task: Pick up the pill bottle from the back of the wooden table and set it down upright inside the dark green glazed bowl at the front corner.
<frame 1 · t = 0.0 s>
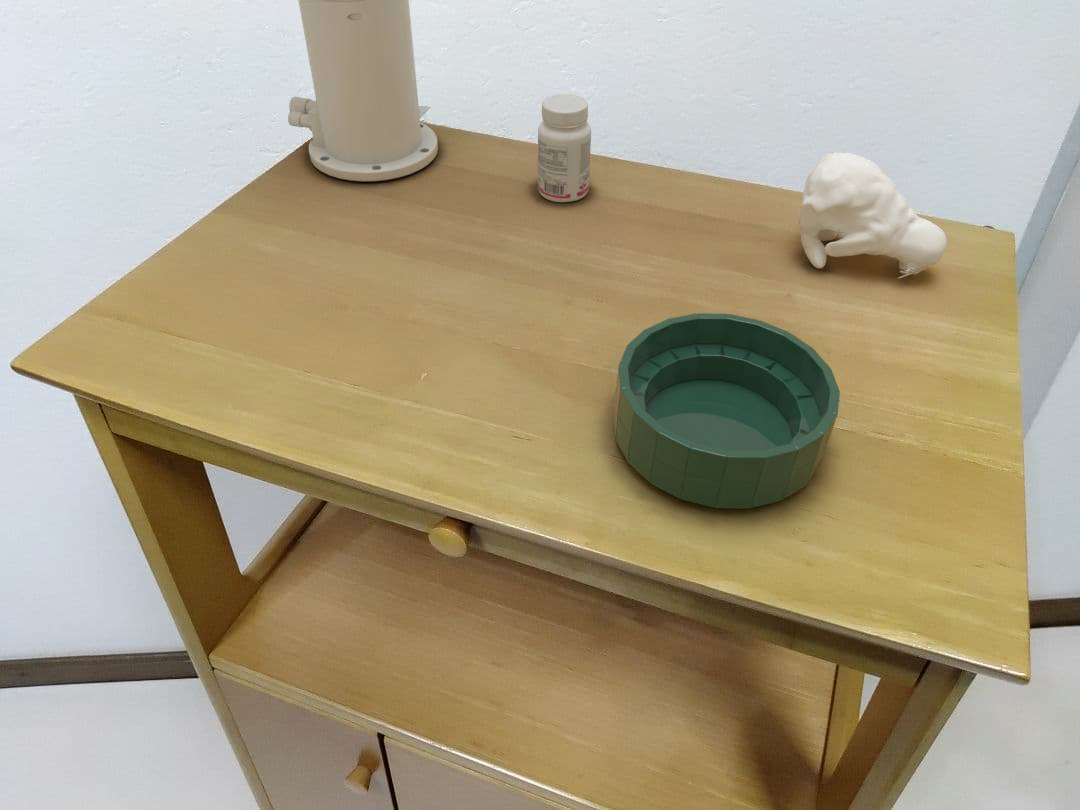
pill bottle: (562, 192, 77), on the cabinet
white irregular piece: (859, 263, 69), on the cabinet
bowl: (714, 435, 53), on the cabinet
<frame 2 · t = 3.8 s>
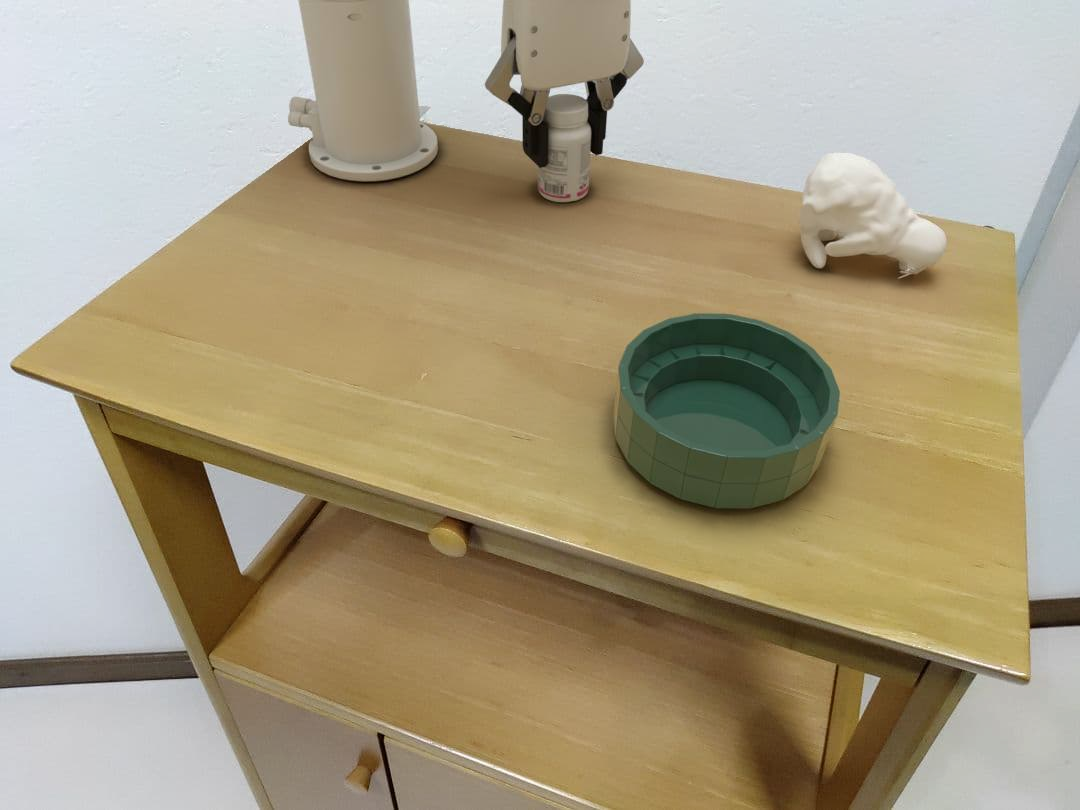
hand: (564, 152, 74), 4 cm above the cabinet, tool pointing down, fingers closed on pill bottle, 4 cm apart
pill bottle: (562, 192, 77), on the cabinet, touching gripper
everything else where it was.
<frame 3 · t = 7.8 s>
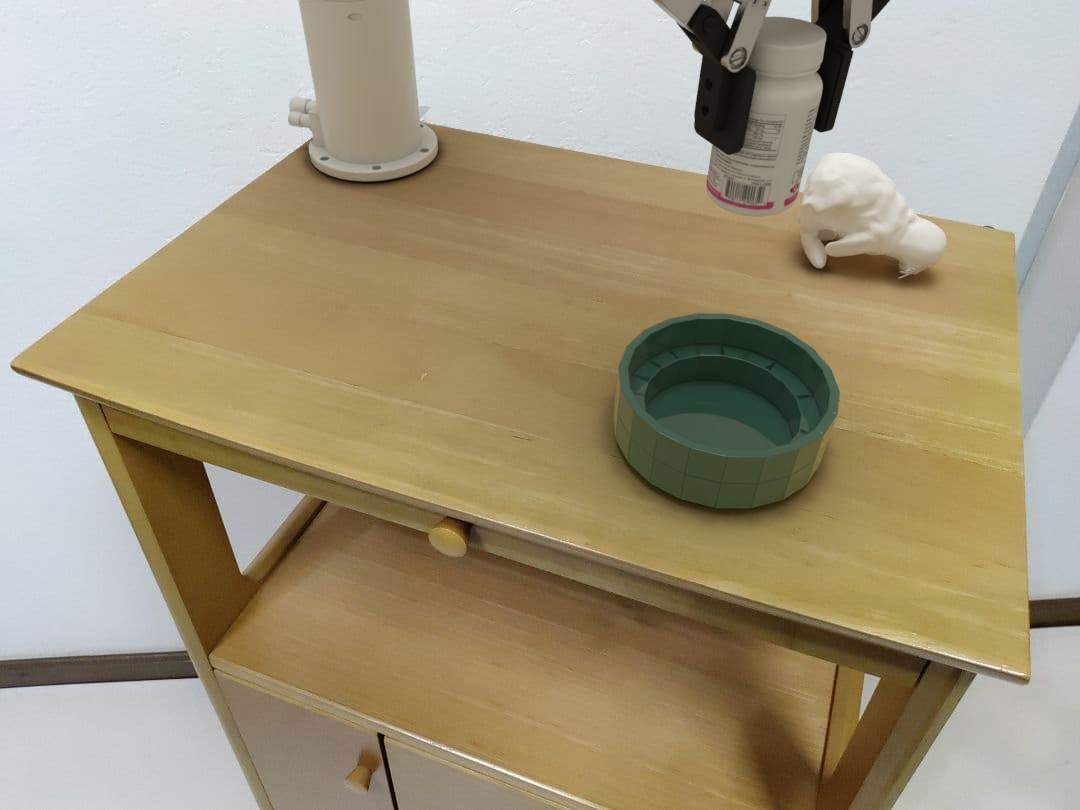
hand: (763, 128, 41), 20 cm above the cabinet, tool pointing down, fingers closed on pill bottle, 4 cm apart
pill bottle: (748, 199, 44), point 16 cm above the cabinet, touching gripper
everything else where it was.
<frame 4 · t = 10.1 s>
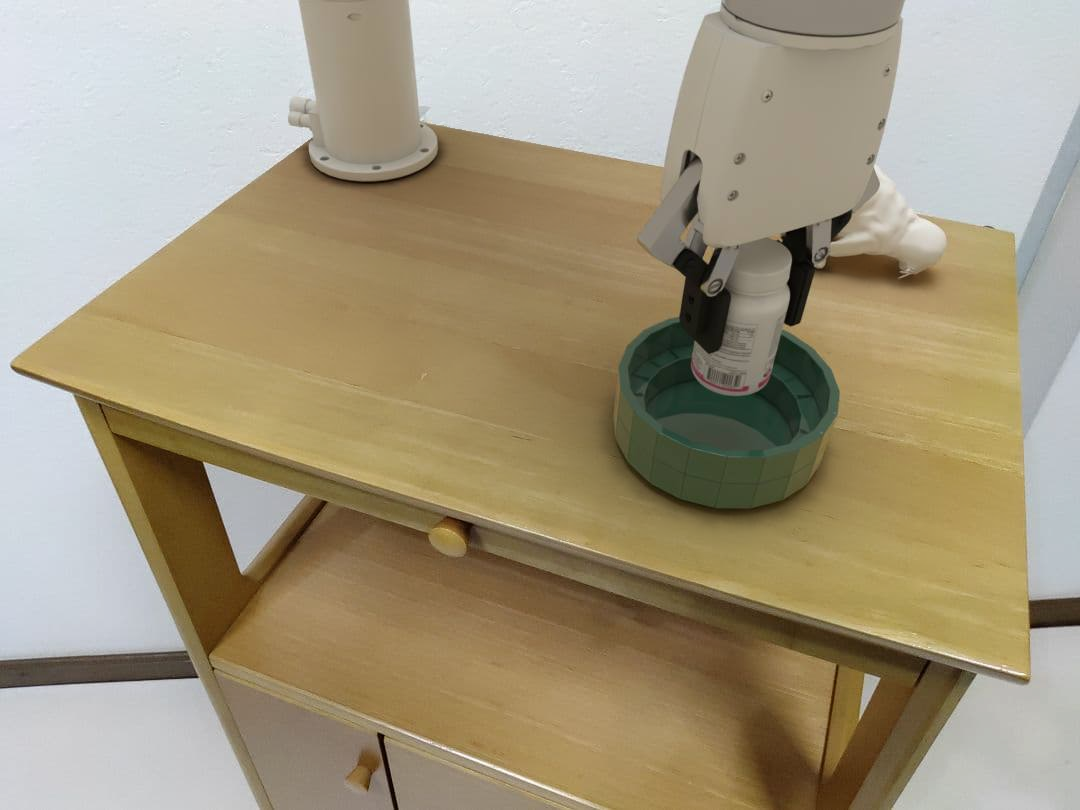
hand: (739, 322, 47), 9 cm above the cabinet, tool pointing down, fingers closed on pill bottle, 4 cm apart
pill bottle: (728, 374, 50), point 5 cm above the cabinet, touching gripper
everything else where it was.
when the fingers open (4 cm above the cabinet, at t = 11.8 s): pill bottle stays where it is, resting on bowl.
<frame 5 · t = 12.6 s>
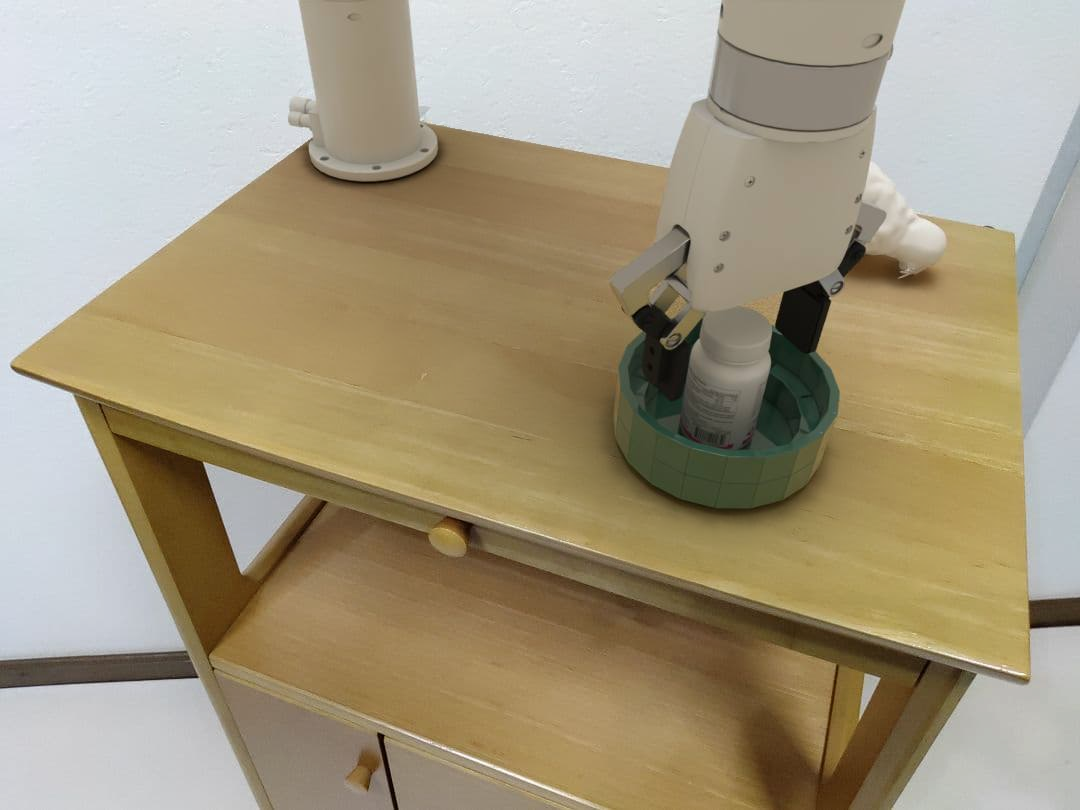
hand: (729, 362, 49), 6 cm above the cabinet, tool pointing down, fingers open, 9 cm apart
pill bottle: (715, 430, 53), resting on bowl
everything else where it was.
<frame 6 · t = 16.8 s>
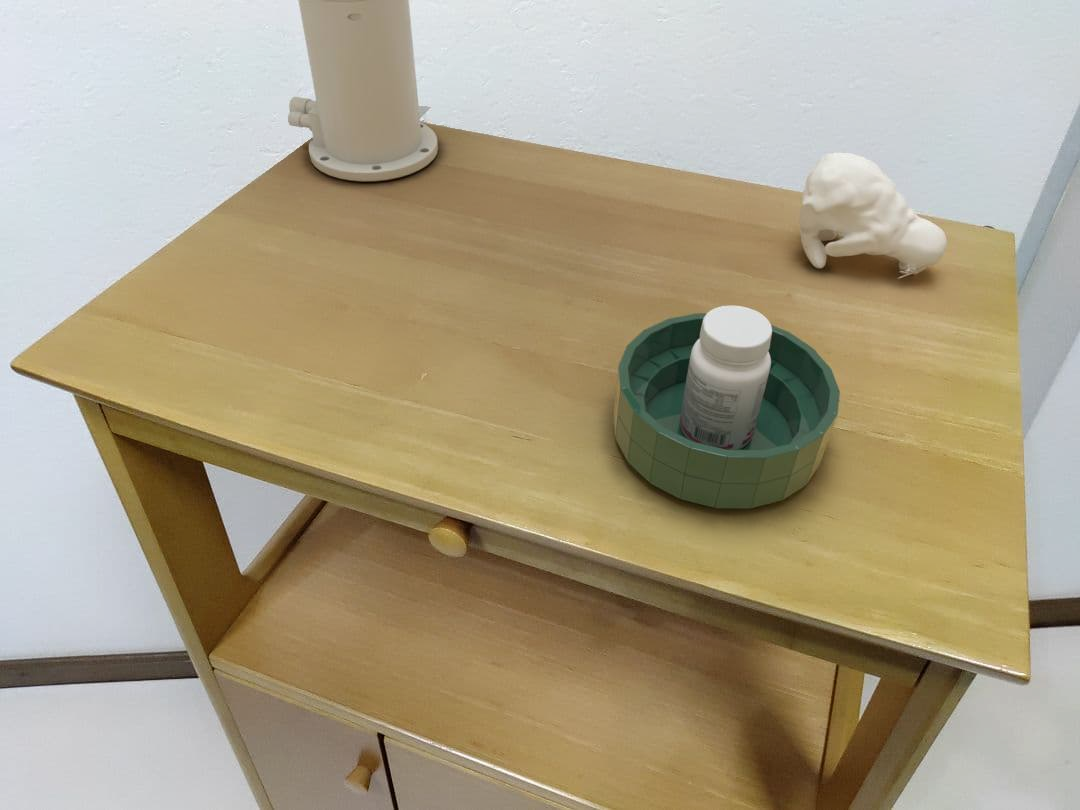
nothing on the cabinet moved.
at the end: pill bottle inside the target area in the bowl (0.1 cm from its centre), point 0.4 cm above the bowl's base; pill bottle tilted 0°; the gripper is holding nothing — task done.
